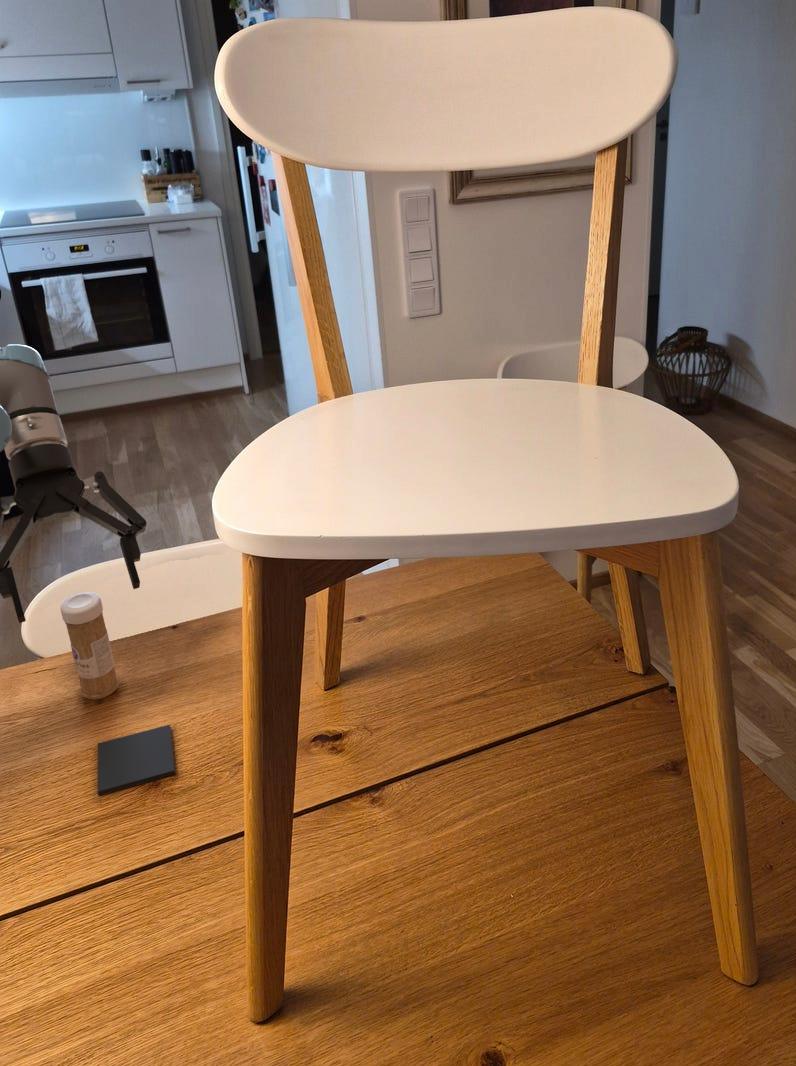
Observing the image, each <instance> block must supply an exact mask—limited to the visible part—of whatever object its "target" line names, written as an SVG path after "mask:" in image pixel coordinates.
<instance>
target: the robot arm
mask: <svg viewBox="0 0 796 1066" xmlns="http://www.w3.org/2000/svg"><path fill="white" fill-rule="evenodd" d="M50 377H51V376H50V374H49V373H48V370H47V368H46V365H45V362H44V361H43V358H42V356H41V354H40V353H39V352H38V351H37V350H36V349H35V348H33V347H31V346H28V345H24V344H7V345H5V346H2V347H0V453H1V452H3V450H4V452H5V456H6V458H7V460H8V467H9V471H10V475H11V478H12V482H13V487H14V490H15V491H14V494H13V495H8V496H0V532H1V531H2V527H3V523H4V518H5V515H8V514H10V512H11V508H12V507H13V506H16V507H17V508H18V509H20V510H21V511H23V512H22V514H21V515H20V518H19V520H18V522H17V524H16V526H15V527H14V528H13V530H12V532H11V534H10V535H9V537H8V538H7V540H6V542H5V544H4V545H3V546H2V548H1V550H0V596H1V598H2V599H3V600H4V599H8V598H11V599H12V602H13V606H14V610H15V614H16V617H17V620H18V623H19V624H21V623H24V622H27V619H26V616H25V611H24V608H23V604H22V601H21V598H20V593H19V589H18V587H17V582H16V578H15V575H14V570H13V567H12V566H10V565H11V564H12V562H13V560H14V558H15V557H16V555H17V554H18V552H19V550H20V549H21V547H22V546H23V544H24V542H25V540H26V538H28V535H29V534H30V532H31V531H32V530H33V528H34V527H35V525H36V524H37V522H43V523H49V522H52V521H54V520H56V519H65V518H68V517H71V515H73V514H74V513H76V514H78V515H79V516H81V517H85V518H86V519H88V520H89V521H92V522H93V523H95V524H97V525H98V526H100V527H102V528H104V529H105V530H107V531H109V532H111V533H113V534H114V535H116V536H117V537H119V547H120V549H121V553H122V557H123V559H124V563H125V567H126V569H127V572H128V576H129V580H130V582H131V585H132V589H133V590H136V589H139V588H141V587H140V585H141V580H140V577H139V573H138V571H137V567H136V564H135V563H137V562H140V561H141V555H142V553H141V550H140V546H139V543H138V540H137V536H138V535H140V534H143V533H145V532H146V530H147V520H146V519H145V517H143V515H141V514H140V512H138V511H137V510H136V509H135V508H134V507H133V506H132V505H131V504H129V503H128V501H126V500H125V499H124V498H123V497H122V496H121V495H120V494H119V493H118V492H117V491H116V490H115V489H114V488H113V487H112V486H111V485H110V484H109V482H108V480H107V478H106V476H105V474H104V472H103V471H96V472H95V473H94V474H93V476H90V477H87V478H84V479H83V478H81V477H80V476H79V475H78V473H77V468H76V465H75V463H74V458H73V455H72V452H71V449H70V448H69V447H68V446H69V442H68V439H67V435H66V433H65V429H64V425H63V423H62V419H61V417H60V413H59V410H58V407H57V403H56V399H55V395H54V392H53V387H52V384H51V378H50ZM86 489H89V490H90V491H92V492H93V493H96V494H97V493H98V494H99V495H100V497H101V498H102V499H103V500H104V501H105V502H106V503H107V504H108V505H109V506H110V507H111V508H112V509H113V510H114V511H116V512H117V514H119V515H120V516H121V517H122V518H123V519H124V520H125V521H126V522H127V523H126V522H124V521H122V520H121V519H119V518H117V517H115V516H114V515H112V514H110V513H108V512H107V511H105V510H103V509H102V508H99V507H98V506H97V505H95V504H92V503H91V502H90V500H88V499H86V498H84V497H83V495H84V493H85V490H86Z"/></svg>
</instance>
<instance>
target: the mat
mask: <svg viewBox="0 0 796 1066" xmlns="http://www.w3.org/2000/svg"><path fill="white" fill-rule="evenodd" d="M172 738H173V737H172V729H171V725H170V724H166V725H163V726H158V727H155V728H150V729H147V730H143V731H139V732H136V733H132V734H131V733H130V734H127V735H124V736H120V737H116V738H114V739H113V738H112V739H108V740H104V741H100V742H98V743H97V795H98V796H102V795H106V794H109V793H113V792H117V791H121V790H123V789H128V788H132V787H134V786H138V785H142V784H146V783H150V782H153V781H155V780H160V779H163V778H168V777H170V776H174V775H176V768H175V767H176V766H175V759H174V748H173V739H172Z"/></svg>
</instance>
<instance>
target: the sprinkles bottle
mask: <svg viewBox="0 0 796 1066" xmlns="http://www.w3.org/2000/svg"><path fill="white" fill-rule="evenodd" d="M59 610H60V613H61V617H62V620H63V622H64V623H65V626H66V630H67V634H68V637H69V642H70V648H71V653H72V656H73V662H74V665H75V670H76V673H77V676H78V679H79V684H80V693H81V695H82V696H83V697H84V698H85V699H88V700H100V699H103V698H106V697H108V696H110V695H112V694H113V693H114V692H115V691H116V690H117V689H118V687H120V686H119V685H120V681H119V677H117V672H116V668H115V660H114V656H113V652H112V646H111V641H110V638H109V634H108V629H107V627H106V622H105V618H104V615H103V614H104V613H103V611H104V607H103V602H102V598H101V596H100V595H99V594H97V593H96V592H92V591H83V592H79V593H74V594H72V595H70V596H68V597H67V598H65V599H64V600H63V601H62V602H61V604H60V609H59Z"/></svg>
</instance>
